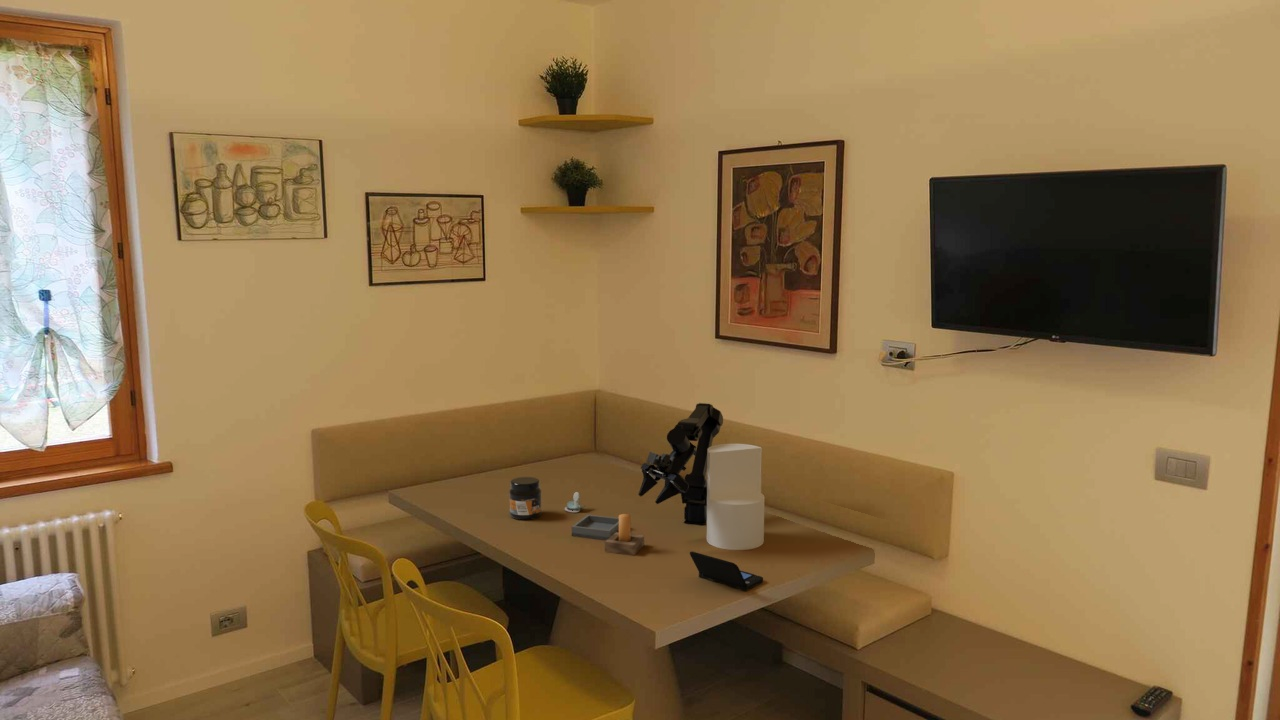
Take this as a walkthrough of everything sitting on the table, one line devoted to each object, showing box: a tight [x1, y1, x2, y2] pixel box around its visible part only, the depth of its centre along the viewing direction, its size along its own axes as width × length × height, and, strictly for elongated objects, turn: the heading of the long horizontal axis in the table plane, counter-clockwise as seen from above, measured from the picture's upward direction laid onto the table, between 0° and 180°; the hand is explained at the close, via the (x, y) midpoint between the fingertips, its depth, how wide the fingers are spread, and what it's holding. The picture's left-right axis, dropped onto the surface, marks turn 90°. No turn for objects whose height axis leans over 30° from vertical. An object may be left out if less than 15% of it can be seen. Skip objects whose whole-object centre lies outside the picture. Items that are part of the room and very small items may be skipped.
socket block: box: [604, 532, 645, 556], centre depth 262 cm, size 9×9×3 cm
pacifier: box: [564, 491, 586, 514], centre depth 298 cm, size 7×6×6 cm
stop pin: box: [618, 513, 632, 542], centre depth 261 cm, size 4×4×10 cm
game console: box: [689, 551, 764, 592], centre depth 236 cm, size 16×14×9 cm
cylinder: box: [706, 443, 765, 551], centre depth 267 cm, size 17×17×28 cm
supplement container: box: [508, 476, 542, 521], centre depth 292 cm, size 10×10×12 cm
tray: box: [571, 514, 619, 541], centre depth 276 cm, size 13×13×3 cm
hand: (647, 499), depth 264 cm, fingers open, 9 cm apart
